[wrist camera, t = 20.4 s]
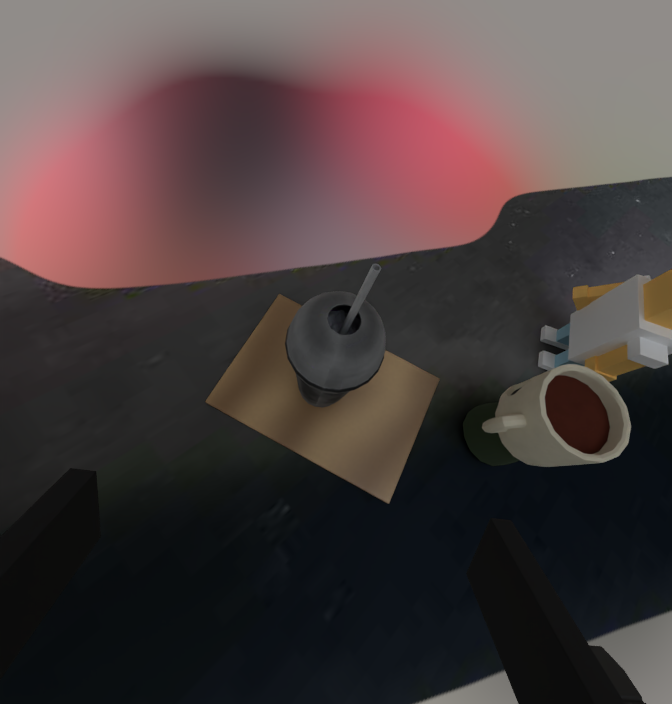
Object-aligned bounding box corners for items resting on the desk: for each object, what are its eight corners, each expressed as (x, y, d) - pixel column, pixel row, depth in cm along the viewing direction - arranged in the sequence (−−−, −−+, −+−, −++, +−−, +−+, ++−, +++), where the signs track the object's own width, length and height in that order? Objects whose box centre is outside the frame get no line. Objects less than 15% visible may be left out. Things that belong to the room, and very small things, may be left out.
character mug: (524, 398, 39) (630, 359, 27) (544, 464, 37) (670, 454, 25) (432, 405, 37) (502, 367, 25) (446, 476, 35) (532, 471, 23)
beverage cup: (270, 379, 35) (254, 262, 17) (326, 339, 38) (365, 199, 19) (314, 436, 34) (350, 377, 15) (369, 392, 36) (458, 294, 18)
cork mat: (205, 403, 34) (204, 401, 34) (279, 295, 39) (279, 293, 39) (387, 503, 33) (389, 503, 33) (438, 379, 38) (440, 378, 38)
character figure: (554, 400, 39) (751, 338, 23) (513, 319, 43) (660, 213, 26) (607, 382, 41) (826, 313, 25) (564, 306, 44) (732, 199, 28)
